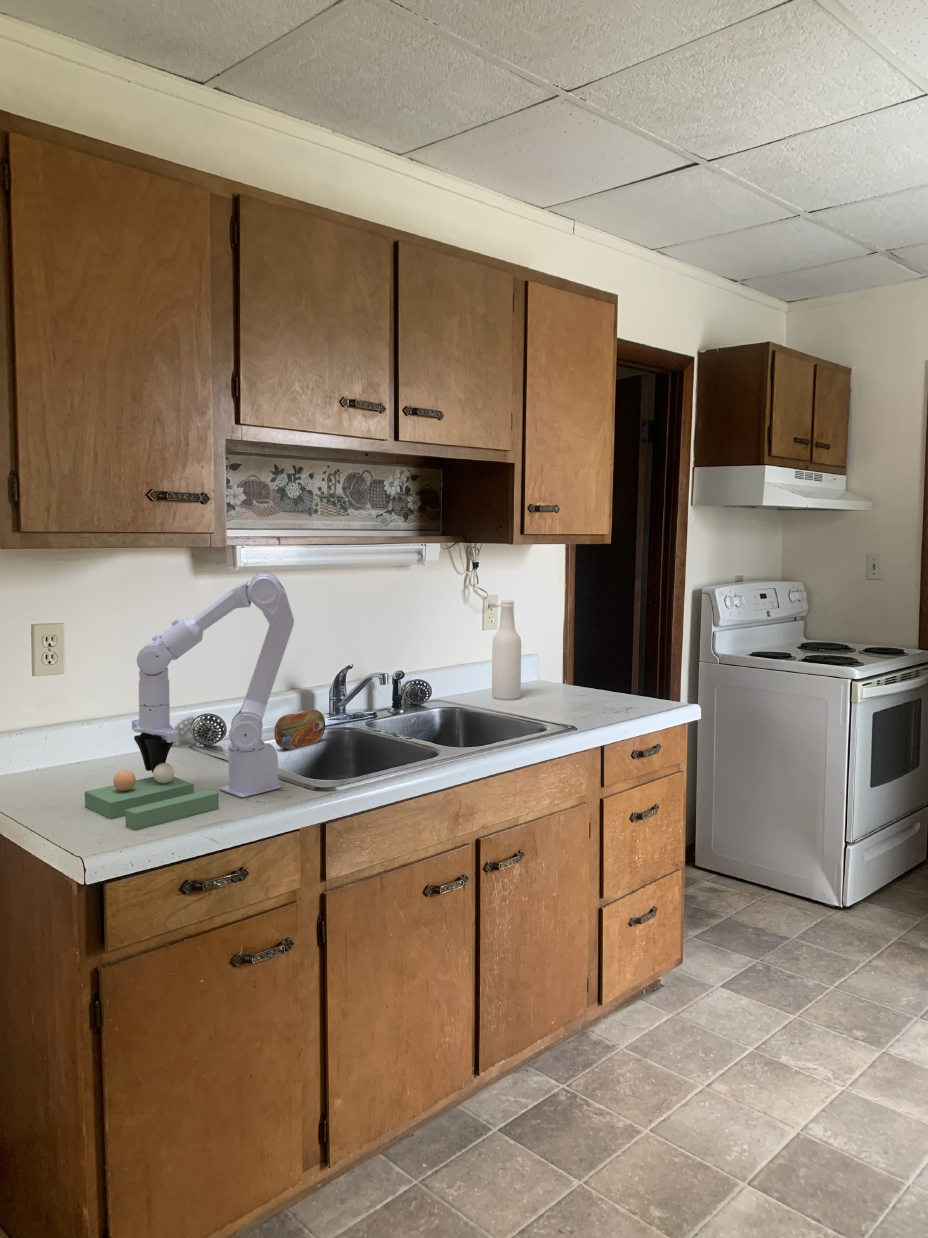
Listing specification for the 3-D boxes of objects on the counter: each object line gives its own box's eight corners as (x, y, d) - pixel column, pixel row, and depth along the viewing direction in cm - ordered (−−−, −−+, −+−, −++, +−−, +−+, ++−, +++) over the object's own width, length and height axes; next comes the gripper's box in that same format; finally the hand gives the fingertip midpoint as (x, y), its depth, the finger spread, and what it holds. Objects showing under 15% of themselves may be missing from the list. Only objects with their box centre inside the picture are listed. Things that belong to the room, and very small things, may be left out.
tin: (281, 753, 217) (281, 718, 216) (272, 751, 219) (271, 716, 218) (326, 741, 230) (326, 707, 229) (317, 739, 231) (317, 705, 230)
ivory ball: (167, 774, 185) (168, 757, 184) (177, 784, 183) (179, 766, 181) (148, 779, 182) (149, 762, 181) (159, 789, 180) (160, 772, 178)
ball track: (166, 788, 189) (166, 773, 188) (218, 808, 176) (218, 793, 176) (85, 806, 176) (84, 791, 176) (134, 830, 163) (134, 813, 163)
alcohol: (526, 699, 284) (527, 601, 281) (501, 701, 280) (503, 602, 276) (510, 694, 292) (511, 599, 288) (486, 696, 287) (487, 600, 284)
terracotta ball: (129, 786, 179) (128, 766, 179) (139, 790, 177) (139, 770, 176) (109, 790, 176) (109, 770, 176) (120, 795, 174) (119, 774, 173)
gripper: (117, 700, 184) (118, 767, 186) (154, 712, 174) (154, 783, 176) (150, 696, 189) (150, 761, 191) (187, 707, 180) (188, 776, 181)
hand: (154, 771), depth 184 cm, fingers closed
